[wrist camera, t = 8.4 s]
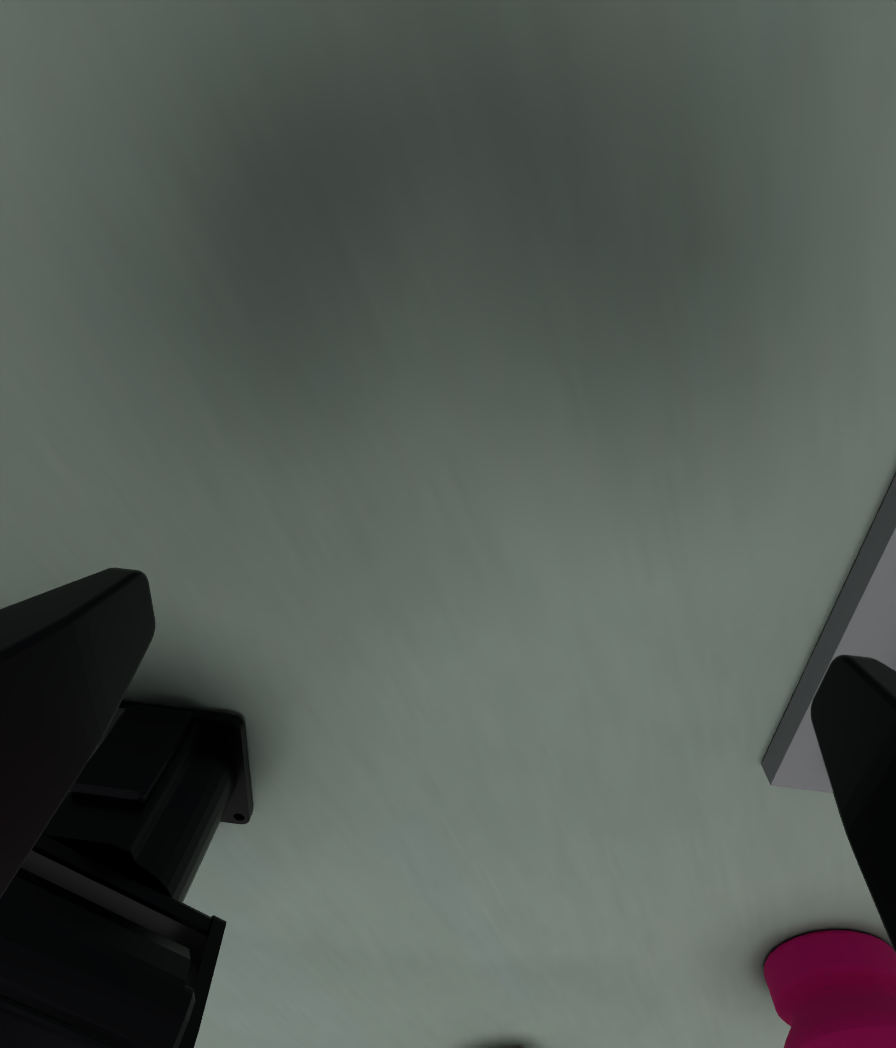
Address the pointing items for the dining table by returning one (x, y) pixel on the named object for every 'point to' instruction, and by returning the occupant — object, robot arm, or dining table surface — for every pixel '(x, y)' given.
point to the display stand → (841, 652)
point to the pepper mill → (835, 990)
